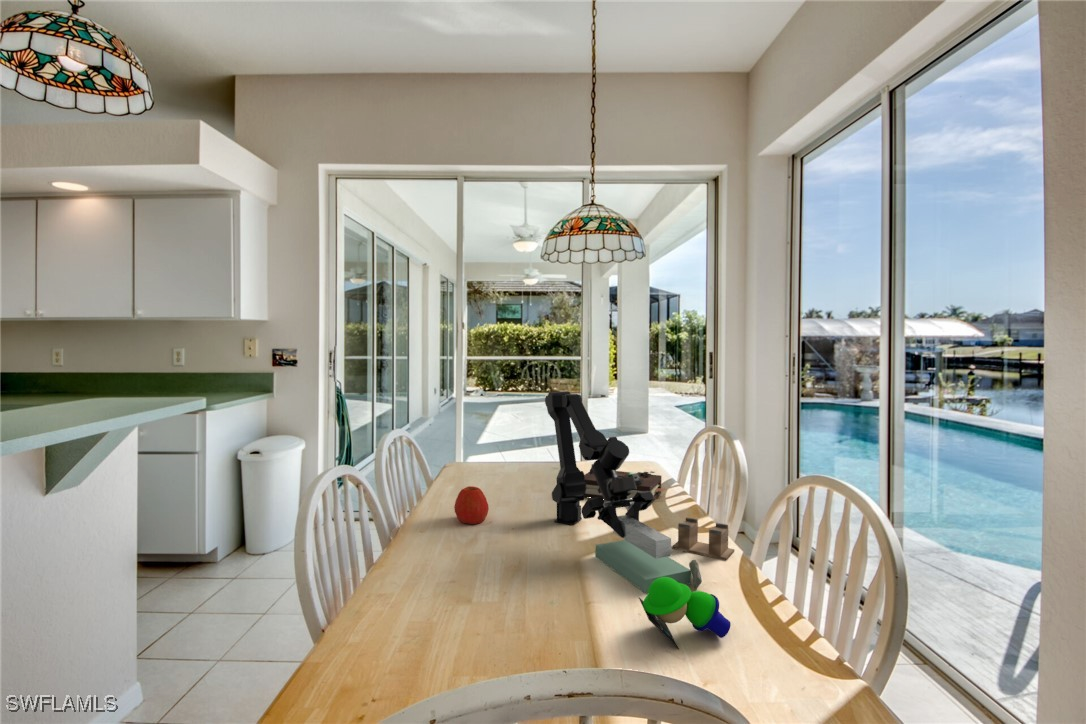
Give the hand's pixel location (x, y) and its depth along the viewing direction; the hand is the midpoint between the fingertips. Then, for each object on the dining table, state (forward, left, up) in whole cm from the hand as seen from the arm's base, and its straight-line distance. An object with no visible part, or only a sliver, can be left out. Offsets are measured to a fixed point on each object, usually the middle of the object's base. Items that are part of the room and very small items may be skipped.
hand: (630, 535), depth 134 cm
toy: (+19, -27, -7) cm, 34 cm away
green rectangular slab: (+3, -3, -7) cm, 8 cm away
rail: (+3, -3, -1) cm, 4 cm away
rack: (+14, +16, -7) cm, 23 cm away
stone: (+16, -3, -7) cm, 18 cm away
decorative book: (-21, +56, -7) cm, 60 cm away
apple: (-52, +9, -7) cm, 54 cm away
